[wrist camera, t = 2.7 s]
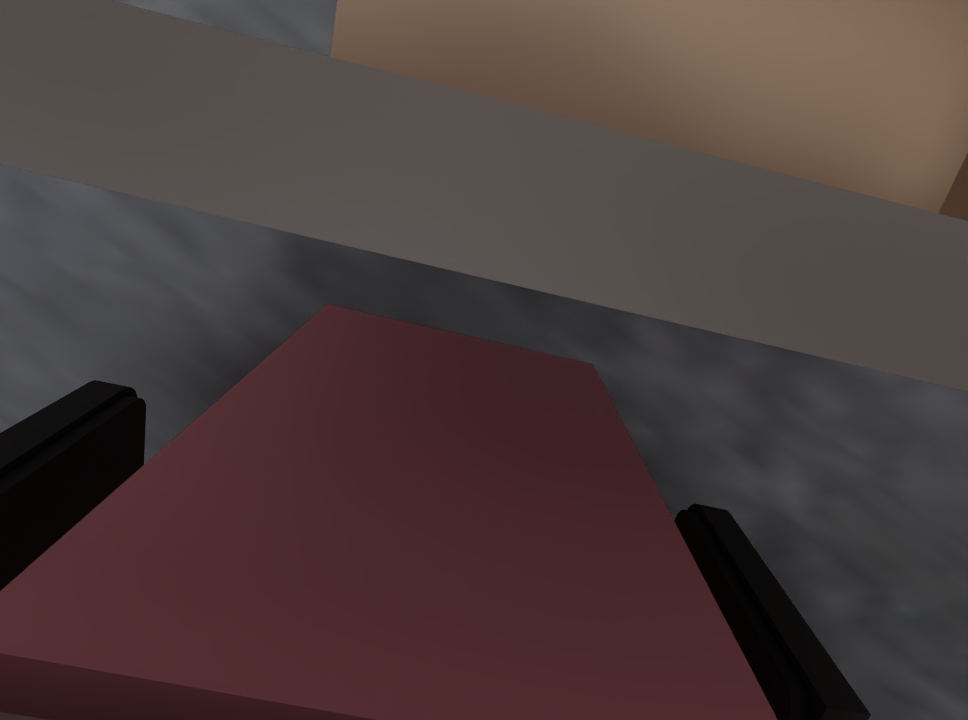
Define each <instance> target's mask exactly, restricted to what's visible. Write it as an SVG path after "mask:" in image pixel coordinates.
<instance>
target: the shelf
mask: <svg viewBox="0 0 968 720" xmlns="http://www.w3.org/2000/svg"><path fill="white" fill-rule="evenodd" d="M0 165H4V166H9V167H13V168H17V169H21V170H26V171H30V172H34V173H38V174H43V175H47V176H51V177H55V178H60V179H64V180H68V181H73V182H77V183H81V184H85V185H90V186H94V187H98V188H102V189H107V190H111V191H115V192H119V193H124V194H128V195H132V196H136V197H141V198H145V199H149V200H153V201H158V202H162V203H166V204H171V205H175V206H179V207H183V208H188V209H192V210H196V211H200V212H205V213H209V214H213V215H217V216H222V217H226V218H230V219H234V220H239V221H243V222H247V223H251V224H256V225H260V226H264V227H269V228H273V229H277V230H281V231H286V232H290V233H294V234H298V235H303V236H307V237H311V238H315V239H320V240H324V241H328V242H332V243H337V244H341V245H345V246H349V247H354V248H358V249H362V250H366V251H371V252H375V253H379V254H384V255H388V256H392V257H396V258H401V259H405V260H409V261H413V262H418V263H422V264H426V265H430V266H435V267H439V268H443V269H447V270H452V271H456V272H460V273H464V274H469V275H473V276H477V277H482V278H486V279H490V280H494V281H499V282H503V283H507V284H511V285H516V286H520V287H524V288H528V289H533V290H537V291H541V292H545V293H550V294H554V295H558V296H562V297H567V298H571V299H575V300H580V301H584V302H588V303H592V304H597V305H601V306H605V307H609V308H614V309H618V310H622V311H626V312H631V313H635V314H639V315H643V316H648V317H652V318H656V319H660V320H665V321H669V322H673V323H678V324H682V325H686V326H690V327H695V328H699V329H703V330H707V331H712V332H716V333H720V334H724V335H729V336H733V337H737V338H741V339H746V340H750V341H754V342H758V343H763V344H767V345H771V346H775V347H780V348H784V349H788V350H793V351H797V352H801V353H805V354H810V355H814V356H818V357H822V358H827V359H831V360H835V361H839V362H844V363H848V364H852V365H856V366H861V367H865V368H869V369H873V370H878V371H882V372H886V373H891V374H895V375H899V376H903V377H908V378H912V379H916V380H920V381H925V382H929V383H933V384H937V385H942V386H946V387H950V388H954V389H959V390H963V391H967V392H968V0H337V7H336V14H335V22H334V30H333V37H332V45H331V53H330V57H329V56H325V55H321V54H317V53H313V52H309V51H305V50H302V49H298V48H294V47H290V46H286V45H282V44H278V43H274V42H270V41H267V40H263V39H259V38H255V37H251V36H247V35H243V34H239V33H236V32H232V31H228V30H224V29H220V28H216V27H212V26H208V25H204V24H201V23H197V22H193V21H189V20H185V19H181V18H177V17H173V16H170V15H166V14H162V13H158V12H154V11H150V10H146V9H142V8H138V7H135V6H131V5H127V4H123V3H119V2H115V1H111V0H0Z"/></svg>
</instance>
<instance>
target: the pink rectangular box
mask: <svg viewBox="0 0 968 720" xmlns="http://www.w3.org/2000/svg"><path fill="white" fill-rule="evenodd" d="M0 712H1V713H9V714H16V715H23V716H29V717H36V718H42V719H49V720H777V718H776V716H775V714H774V712H773V710H772V708H771V706H770V704H769V702H768V700H767V698H766V697H765V695H764V693H763V691H762V689H761V687H760V685H759V683H758V681H757V679H756V677H755V675H754V673H753V672H752V670H751V668H750V666H749V664H748V662H747V660H746V658H745V656H744V654H743V652H742V650H741V648H740V647H739V645H738V643H737V641H736V639H735V637H734V635H733V633H732V631H731V629H730V627H729V625H728V624H727V622H726V620H725V618H724V616H723V614H722V612H721V610H720V608H719V606H718V604H717V602H716V600H715V599H714V597H713V595H712V593H711V591H710V589H709V587H708V585H707V583H706V581H705V579H704V577H703V576H702V574H701V572H700V570H699V568H698V566H697V564H696V562H695V560H694V558H693V556H692V554H691V552H690V551H689V549H688V547H687V545H686V543H685V541H684V539H683V537H682V535H681V533H680V531H679V529H678V528H677V526H676V524H675V522H674V520H673V518H672V516H671V514H670V512H669V510H668V508H667V506H666V504H665V503H664V501H663V499H662V497H661V495H660V493H659V491H658V489H657V487H656V485H655V483H654V481H653V479H652V478H651V476H650V474H649V472H648V470H647V468H646V466H645V464H644V462H643V460H642V458H641V456H640V455H639V453H638V451H637V449H636V447H635V445H634V443H633V441H632V439H631V437H630V435H629V433H628V431H627V430H626V428H625V426H624V424H623V422H622V420H621V418H620V416H619V414H618V412H617V410H616V408H615V407H614V405H613V403H612V401H611V399H610V397H609V395H608V393H607V391H606V389H605V387H604V385H603V383H602V382H601V380H600V378H599V376H598V374H597V372H596V370H595V368H594V366H593V364H590V363H585V362H581V361H576V360H572V359H568V358H563V357H559V356H554V355H550V354H546V353H541V352H537V351H532V350H528V349H524V348H519V347H515V346H510V345H506V344H502V343H497V342H493V341H488V340H484V339H480V338H475V337H471V336H466V335H462V334H458V333H453V332H449V331H444V330H440V329H436V328H431V327H427V326H422V325H418V324H414V323H409V322H405V321H400V320H396V319H392V318H387V317H383V316H378V315H374V314H369V313H365V312H361V311H356V310H352V309H347V308H343V307H339V306H334V305H330V304H327V305H326V306H324V307H323V308H322V309H321V310H320V311H319V312H318V313H316V314H315V315H314V316H313V317H312V318H311V319H310V320H308V321H307V322H306V323H305V324H304V325H303V326H302V327H301V328H299V329H298V330H297V331H296V332H295V333H294V334H293V335H291V336H290V337H289V338H288V339H287V340H286V341H285V342H283V343H282V344H281V345H280V346H279V347H278V348H277V349H275V350H274V351H273V352H272V353H271V354H270V355H269V356H267V357H266V358H265V359H264V360H263V361H262V362H261V363H260V364H258V365H257V366H256V367H255V368H254V369H253V370H252V371H250V372H249V373H248V374H247V375H246V376H245V377H244V378H242V379H241V380H240V381H239V382H238V383H237V384H236V385H234V386H233V387H232V388H231V389H230V390H229V391H228V392H227V393H225V394H224V395H223V396H222V397H221V398H220V399H219V400H217V401H216V402H215V403H214V404H213V405H212V406H211V407H209V408H208V409H207V410H206V411H205V412H204V413H203V414H201V415H200V416H199V417H198V418H197V419H196V420H195V421H193V422H192V423H191V424H190V425H189V426H188V427H187V428H186V429H184V430H183V431H182V432H181V433H180V434H179V435H178V436H176V437H175V438H174V439H173V440H172V441H171V442H170V443H168V444H167V445H166V446H165V447H164V448H163V449H162V450H160V451H159V452H158V453H157V454H156V455H155V456H154V457H153V458H151V459H150V460H149V461H148V462H147V463H146V464H145V465H143V466H142V467H141V468H140V469H139V470H138V471H137V472H135V473H134V474H133V475H132V476H131V477H130V478H129V479H127V480H126V481H125V482H124V483H123V484H122V485H121V486H119V487H118V488H117V489H116V490H115V491H114V492H113V493H112V494H110V495H109V496H108V497H107V498H106V499H105V500H104V501H102V502H101V503H100V504H99V505H98V506H97V507H96V508H94V509H93V510H92V511H91V512H90V513H89V514H88V515H86V516H85V517H84V518H83V519H82V520H81V521H80V522H79V523H77V524H76V525H75V526H74V527H73V528H72V529H71V530H69V531H68V532H67V533H66V534H65V535H64V536H63V537H61V538H60V539H59V540H58V541H57V542H56V543H55V544H53V545H52V546H51V547H50V548H49V549H48V550H47V551H45V552H44V553H43V554H42V555H41V556H40V557H39V558H38V559H36V560H35V561H34V562H33V563H32V564H31V565H30V566H28V567H27V568H26V569H25V570H24V571H23V572H22V573H20V574H19V575H18V576H17V577H16V578H15V579H14V580H12V581H11V582H10V583H9V584H8V585H7V586H6V587H5V588H3V589H2V590H1V591H0Z"/></svg>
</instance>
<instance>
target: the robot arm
mask: <svg viewBox="0 0 968 720" xmlns="http://www.w3.org/2000/svg"><path fill="white" fill-rule="evenodd" d="M145 420H146V404H145V401H144V400H143V399H141V398H137V394H136V391H135V390H134V389H133V388H131V387H126V386H121V385H116V384H111V383H106V382H102V381H96V380H94V381H91V382H89V383H87V384H85V385H84V386H82V387H80V388H78V389H77V390H75V391H73V392H71V393H70V394H68V395H66V396H64V397H63V398H61V399H59V400H57V401H56V402H54V403H52V404H50V405H49V406H47V407H45V408H43V409H42V410H40V411H38V412H36V413H35V414H33V415H31V416H29V417H28V418H26V419H24V420H22V421H21V422H19V423H17V424H15V425H14V426H12V427H10V428H8V429H7V430H5V431H3V432H2V433H0V591H1V590H2V589H3V588H5V587H6V586H7V585H8V584H9V583H10V582H11V581H12V580H14V579H15V578H16V577H17V576H18V575H19V574H20V573H22V572H23V571H24V570H25V569H26V568H27V567H28V566H30V565H31V564H32V563H33V562H34V561H35V560H36V559H38V558H39V557H40V556H41V555H42V554H43V553H44V552H45V551H47V550H48V549H49V548H50V547H51V546H52V545H53V544H55V543H56V542H57V541H58V540H59V539H60V538H61V537H63V536H64V535H65V534H66V533H67V532H68V531H69V530H71V529H72V528H73V527H74V526H75V525H76V524H77V523H79V522H80V521H81V520H82V519H83V518H84V517H85V516H86V515H88V514H89V513H90V512H91V511H92V510H93V509H94V508H96V507H97V506H98V505H99V504H100V503H101V502H102V501H104V500H105V499H106V498H107V497H108V496H109V495H110V494H112V493H113V492H114V491H115V490H116V489H117V488H118V487H119V486H121V485H122V484H123V483H124V482H125V481H126V480H127V479H129V478H130V477H131V476H132V475H133V474H134V473H135V472H137V471H138V470H139V469H140V468H141V467H142V466H143V465H144V445H145ZM674 522H675V524H676V526H677V528H678V529H679V531H680V533H681V535H682V537H683V539H684V541H685V543H686V545H687V547H688V549H689V551H690V552H691V554H692V556H693V558H694V560H695V562H696V564H697V566H698V568H699V570H700V572H701V574H702V576H703V577H704V579H705V581H706V583H707V585H708V587H709V589H710V591H711V593H712V595H713V597H714V599H715V600H716V602H717V604H718V606H719V608H720V610H721V612H722V614H723V616H724V618H725V620H726V622H727V624H728V625H729V627H730V629H731V631H732V633H733V635H734V637H735V639H736V641H737V643H738V645H739V647H740V648H741V650H742V652H743V654H744V656H745V658H746V660H747V662H748V664H749V666H750V668H751V670H752V672H753V673H754V675H755V677H756V679H757V681H758V683H759V685H760V687H761V689H762V691H763V693H764V695H765V697H766V698H767V700H768V702H769V704H770V706H771V708H772V710H773V712H774V714H775V716H776V718H777V720H868V719H869V718H870V716H871V715H870V713H869V712H868V710H867V709H866V707H865V706H864V705H863V703H862V702H861V700H860V699H859V697H858V696H857V695H856V693H855V692H854V690H853V689H852V687H851V686H850V685H849V683H848V682H847V680H846V679H845V677H844V676H843V675H842V673H841V672H840V670H839V669H838V667H837V666H836V665H835V663H834V662H833V660H832V659H831V657H830V656H829V654H828V653H827V652H826V650H825V649H824V647H823V646H822V644H821V643H820V642H819V640H818V639H817V637H816V636H815V634H814V633H813V632H812V630H811V629H810V627H809V626H808V624H807V623H806V622H805V620H804V619H803V617H802V616H801V614H800V613H799V612H798V610H797V609H796V607H795V606H794V604H793V603H792V601H791V600H790V599H789V597H788V596H787V594H786V593H785V591H784V590H783V589H782V587H781V586H780V584H779V583H778V581H777V580H776V579H775V577H774V576H773V574H772V573H771V571H770V570H769V569H768V567H767V566H766V564H765V563H764V561H763V560H762V559H761V557H760V556H759V554H758V553H757V551H756V550H755V548H754V547H753V546H752V544H751V543H750V541H749V540H748V538H747V537H746V536H745V534H744V533H743V531H742V530H741V528H740V527H739V526H738V524H737V523H736V521H735V520H734V518H733V517H732V516H731V514H730V513H729V512H728V511H727V510H723V509H719V508H714V507H709V506H704V505H699V504H693V505H691V506H690V507H689V508H688V510H684V509H683V510H681V511H680V512H679V513H678V515H677V516H676V519H675V521H674ZM0 720H49V719H42V718H36V717H29V716H23V715H16V714H9V713H1V712H0Z"/></svg>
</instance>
